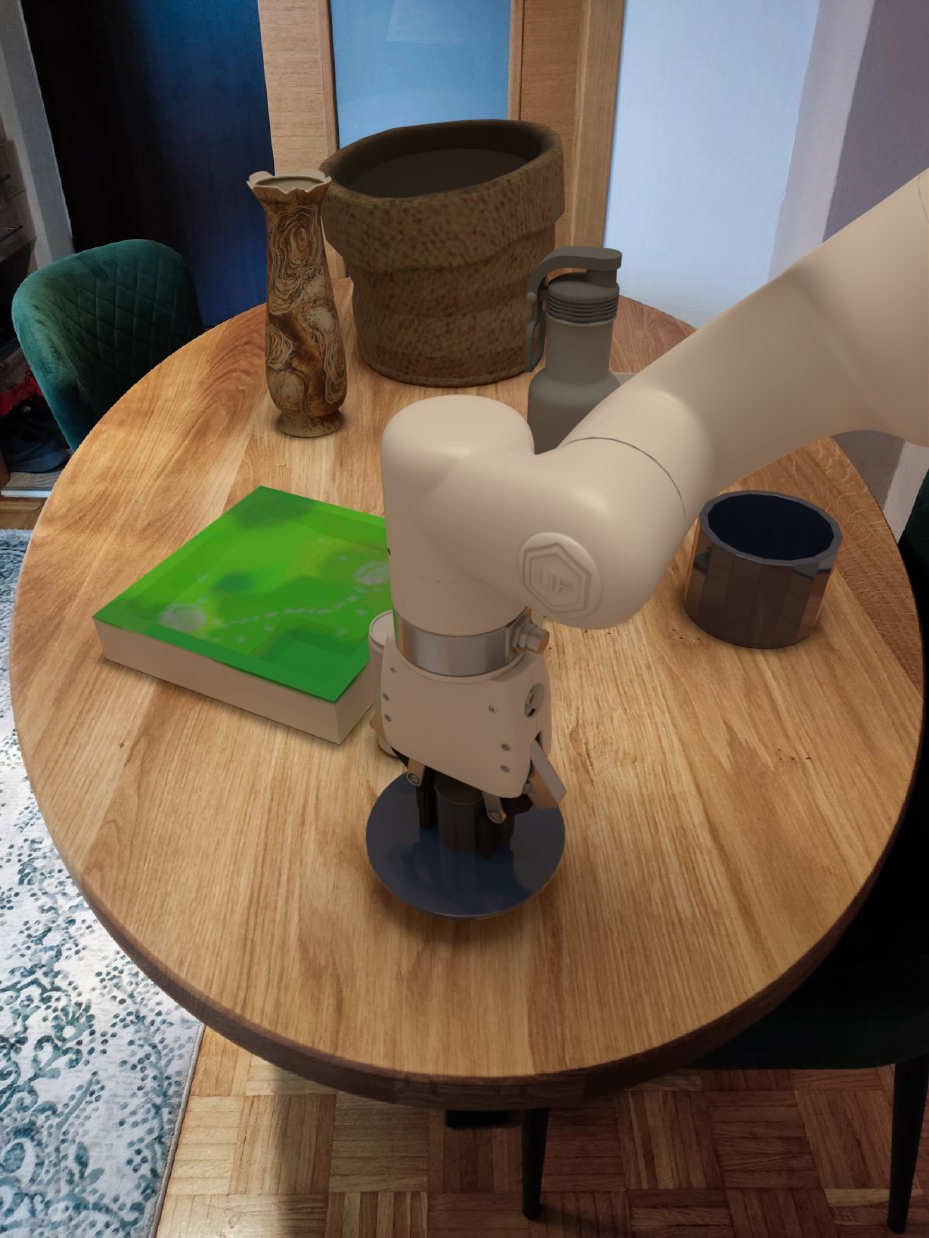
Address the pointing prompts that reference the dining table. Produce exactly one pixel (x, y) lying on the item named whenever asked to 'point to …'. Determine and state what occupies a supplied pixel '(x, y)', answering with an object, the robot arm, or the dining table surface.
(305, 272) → the vase
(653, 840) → the dining table surface
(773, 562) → the enamel pot
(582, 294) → the water bottle
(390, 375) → the pot
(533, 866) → the lid
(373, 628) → the beverage can
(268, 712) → the flat green box
